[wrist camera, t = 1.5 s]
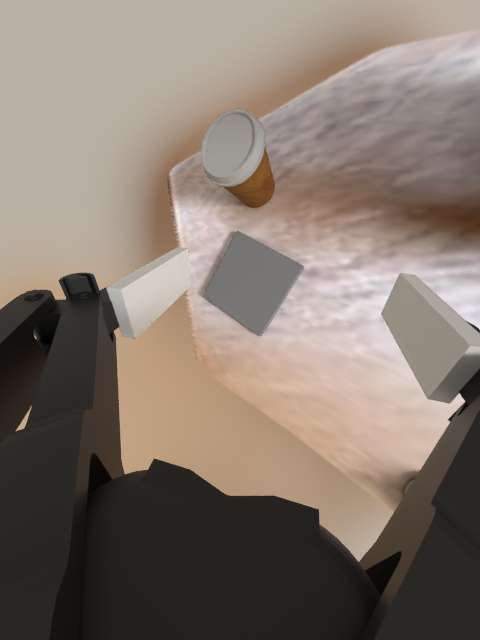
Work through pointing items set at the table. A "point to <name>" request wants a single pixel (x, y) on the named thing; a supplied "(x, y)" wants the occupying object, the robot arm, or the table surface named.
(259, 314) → the slate tile
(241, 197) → the disposable coffee cup
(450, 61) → the table surface
